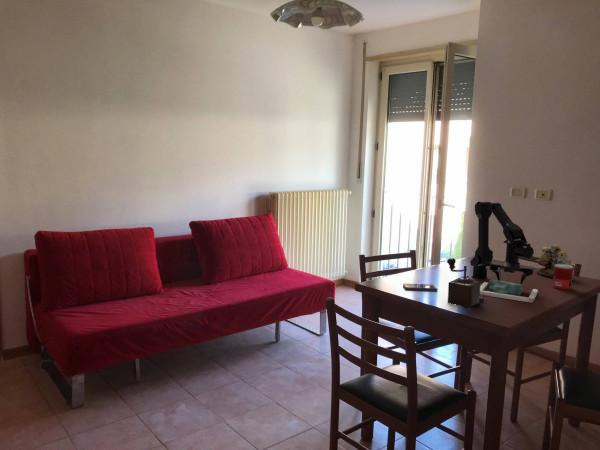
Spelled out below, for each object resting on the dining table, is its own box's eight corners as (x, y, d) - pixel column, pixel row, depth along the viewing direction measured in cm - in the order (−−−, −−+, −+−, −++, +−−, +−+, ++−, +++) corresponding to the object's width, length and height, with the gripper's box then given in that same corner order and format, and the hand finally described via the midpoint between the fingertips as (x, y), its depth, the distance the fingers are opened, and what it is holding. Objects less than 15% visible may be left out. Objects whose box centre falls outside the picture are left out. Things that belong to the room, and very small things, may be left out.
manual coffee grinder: (480, 302, 217) (483, 262, 214) (469, 308, 209) (472, 266, 206) (447, 295, 227) (449, 256, 225) (435, 300, 219) (438, 260, 217)
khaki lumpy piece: (530, 274, 267) (532, 243, 265) (540, 271, 275) (542, 240, 272) (565, 281, 253) (568, 248, 251) (575, 277, 261) (578, 245, 259)
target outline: (475, 293, 230) (476, 290, 230) (483, 284, 245) (484, 282, 245) (532, 302, 217) (532, 299, 217) (537, 292, 233) (537, 289, 232)
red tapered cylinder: (573, 290, 237) (575, 268, 235) (555, 289, 239) (557, 267, 237) (568, 286, 244) (570, 264, 243) (550, 285, 246) (552, 263, 244)
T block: (482, 292, 232) (482, 284, 232) (491, 287, 241) (492, 279, 241) (512, 298, 223) (513, 289, 223) (521, 292, 232) (522, 284, 232)
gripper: (488, 254, 233) (486, 287, 236) (531, 259, 224) (529, 293, 226) (492, 250, 243) (490, 281, 245) (534, 255, 233) (532, 287, 236)
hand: (509, 286), depth 238 cm, fingers open, 9 cm apart
